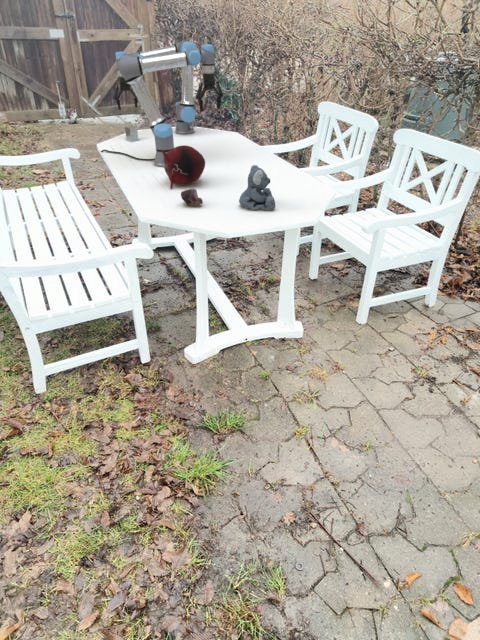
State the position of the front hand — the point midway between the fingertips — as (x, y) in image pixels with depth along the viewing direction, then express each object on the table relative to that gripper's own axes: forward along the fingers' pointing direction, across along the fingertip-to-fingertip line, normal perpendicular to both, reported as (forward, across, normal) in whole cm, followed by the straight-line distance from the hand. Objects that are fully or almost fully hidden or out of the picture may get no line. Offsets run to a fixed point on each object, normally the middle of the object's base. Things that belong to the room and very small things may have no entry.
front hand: (210, 109), depth 294 cm
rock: (+29, -63, -74) cm, 101 cm away
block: (+29, -23, +77) cm, 85 cm away
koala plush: (+29, -37, -96) cm, 107 cm away
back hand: (+6, -23, +77) cm, 80 cm away
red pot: (+29, -46, -40) cm, 67 cm away
